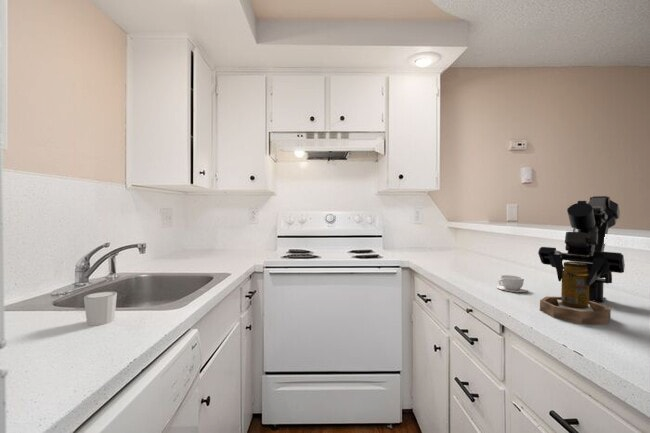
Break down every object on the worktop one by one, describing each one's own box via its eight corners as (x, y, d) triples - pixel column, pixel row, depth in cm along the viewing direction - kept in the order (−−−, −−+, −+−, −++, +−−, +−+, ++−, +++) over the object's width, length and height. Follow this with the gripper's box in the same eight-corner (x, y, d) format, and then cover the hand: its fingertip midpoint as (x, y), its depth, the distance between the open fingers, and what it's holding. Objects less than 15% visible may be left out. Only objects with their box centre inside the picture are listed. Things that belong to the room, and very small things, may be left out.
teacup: (515, 286, 119) (515, 274, 119) (534, 293, 109) (534, 280, 109) (490, 286, 119) (490, 274, 119) (507, 293, 109) (508, 280, 109)
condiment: (589, 304, 88) (589, 262, 88) (594, 312, 81) (594, 266, 80) (557, 300, 92) (557, 260, 92) (559, 307, 85) (559, 264, 84)
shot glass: (78, 327, 74) (78, 299, 74) (91, 318, 81) (91, 291, 81) (111, 325, 76) (110, 297, 76) (121, 316, 83) (121, 290, 83)
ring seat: (550, 303, 96) (550, 294, 96) (613, 315, 85) (613, 305, 85) (535, 313, 87) (535, 302, 87) (603, 328, 76) (603, 316, 76)
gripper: (540, 220, 95) (527, 260, 89) (624, 222, 81) (616, 270, 74) (547, 244, 101) (536, 282, 94) (627, 249, 86) (620, 296, 79)
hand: (573, 282), depth 85 cm, fingers closed on condiment, 6 cm apart
